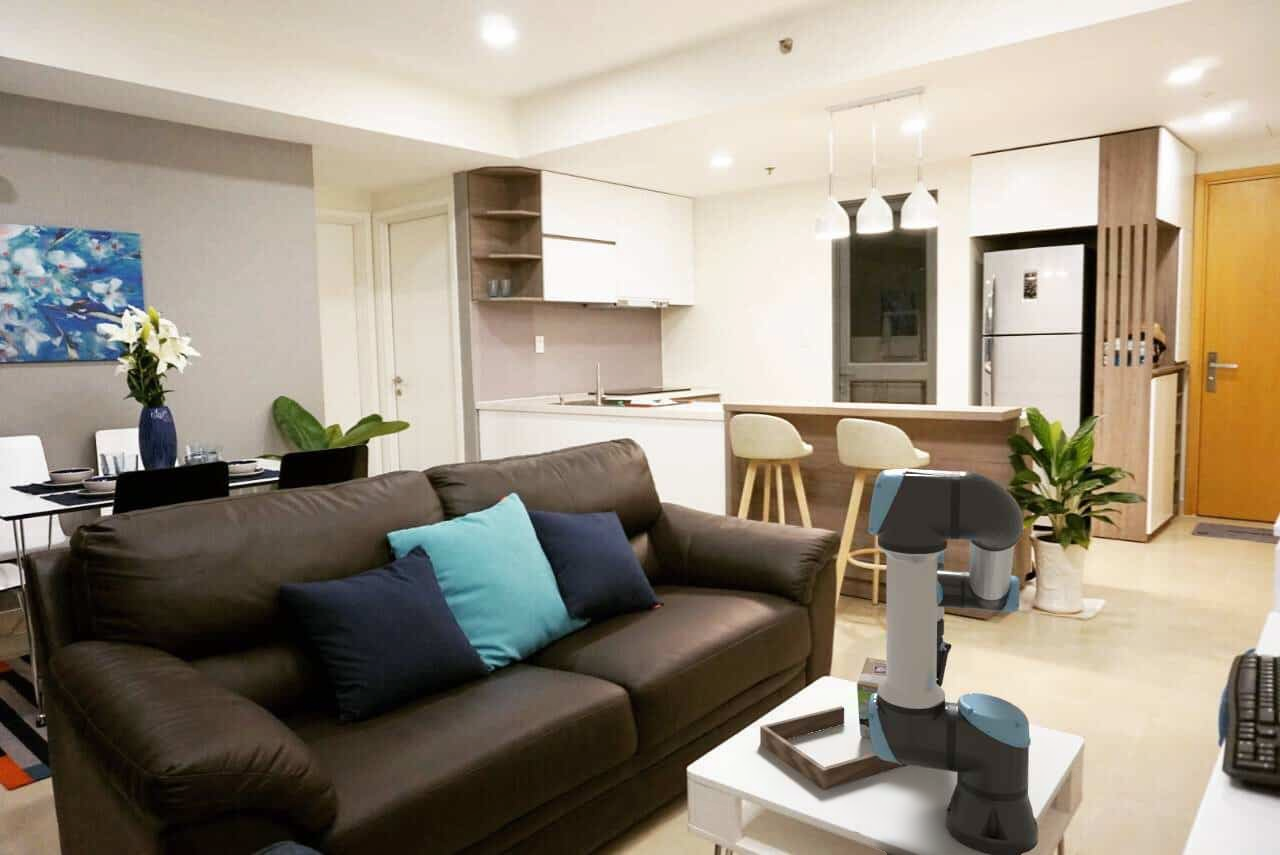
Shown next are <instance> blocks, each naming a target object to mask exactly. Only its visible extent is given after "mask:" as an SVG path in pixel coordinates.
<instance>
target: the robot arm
mask: <svg viewBox="0 0 1280 855" xmlns="http://www.w3.org/2000/svg"><path fill="white" fill-rule="evenodd" d="M1013 496H1014V495H1012V494H1011V493H1010V492H1009V490H1007V489H1006V488H1005V487H1004V486H1003V485H1001V484H1000V483H998V482H997V481H995V480H993V479H992V478H990V477H988V476H986V475H984V474H981V473H978V472H973V471H970V470H969V471H968V470H967V471H966V470H960V471H958V470H957V471H956V470H940V469H939V470H938V469H935V470H934V469H933V470H932V469H915V468H912V469H911V468H910V469H909V468H905V467H904V468H900V469H897V468H896V469H894V468H893V469H885V470H881V472H879V474H878V475H877V477H876V480H875V481H874V488H873V491H872V497H871V503H870V510H869V517H868V530H867V531H868V534H870V535H872V536H874V537H875V536H877V546H878V548H879V549H880V550H881V551H882V552H883V553H885V554H884V555H886V602H885V603H886V610H885V613H886V620H885V622H886V623H885V625H886V627H885V629H886V630H885V631H886V637H885V639H886V640H885V641H886V642H885V643H886V644H885V646H886V652H885V654H886V655H885V657H886V660H885V661H886V679H885V680H884V681H883V682H881V683H880V684H879V686H878V693H877V692H876V693H873V694H872V695H871V696H870V701H869V726H870V735H871V738H870V740H871V744H872V749H873V751H874V753H876V755H877V756H878V757H879V758H880V759H882V760H885V761H890V762H895V763H898V764H900V765H903V764H907V766H914V767H920V768H926V769H927V768H928V769H935V770H942V771H946V772H954V773H956V784H955V787H954V789H953V792H952V794H951V798H950V800H949V802H948V805H947V807H946V811H945V826H946V829H947V831H948V832H949V834H950V835H951V836H952V837H953V838H954V839H955V840H958V841H959V842H960V843H962V844H963V845H965V846H967V847H969V848H972V849H974V850H977V851H979V852H980V851H981V852H983V853H987V854H992V855H1022V854H1025V853H1028V852H1030V851H1032V850H1034V849H1035V848H1036V846H1037V845H1038V842H1039V825H1038V822H1037V819H1036V818H1035V816H1034V811H1033V807H1032V804H1031V800H1030V796H1029V767H1030V766H1029V758H1030V757H1029V755H1030V753H1029V752H1030V750H1029V748H1030V746H1031V742H1032V741H1031V737H1030V723H1029V720H1028V717H1027V715H1026V713H1024V711H1023V710H1022V709H1021V708H1020V707H1019V706H1017V705H1014V704H1013V703H1012V702H1010V701H1008V700H1006V699H1002V698H1000V697H998V696H995V695H994V696H993V695H989V694H986V693H977V692H973V693H965V694H962V695H961V696H960V697H959V698H958V700H957V702H950V701H949V702H948V701H946V693H945V690H944V689H943V688H942V685H943V682H944V679H945V678H944V676H945V672H946V666H947V662H948V655H949V653H950V651H951V648H952V644H951V643H949V642H946V641H944V637H943V636H944V634H945V619H944V617H945V608H951V609H952V608H953V609H964V610H965V609H966V610H974V611H975V610H976V611H985V612H996V613H1016V612H1018V610H1019V609H1020V598H1021V595H1020V591H1021V590H1020V589H1021V588H1020V585H1021V584H1020V578H1019V577H1018V576H1016V575H1012V570H1013V561H1014V553H1015V546H1016V545H1017V543H1018V542H1019V541H1020V539H1021V537H1022V535H1023V531H1024V530H1023V529H1024V516H1023V512H1022V510H1021V507H1020V506H1019V503H1018V502H1017V500H1016V499H1015V498H1014V497H1013ZM948 540H958V541H959V540H964V541H969V567H968V568H969V571H957V570H956V571H955V570H945V566H946V562H945V553H944V552H946V551H947V549H948Z"/></svg>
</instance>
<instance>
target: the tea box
mask: <svg viewBox="0 0 1280 855" xmlns="http://www.w3.org/2000/svg"><path fill="white" fill-rule="evenodd" d="M859 675H860V676H859V678H858V680H857V683H856V688H857V689H856V690H857V691H856V692H857V705H858V706H857V707H858V722H859V723H858V724H859V733H860V737H861V738H862V737H863V738H868V739H871V735H870V726H869V701H870V696H871V695H872V694H873V693H876V692H877V693H878V686H879V684H880V683H881V682H883V681H884V680H885V679H886V660H884V659H878V658H872V657H866V658H865V661H864V665H863V667H862V670H861V672H860V674H859Z"/></svg>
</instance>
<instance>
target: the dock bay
mask: <svg viewBox="0 0 1280 855" xmlns="http://www.w3.org/2000/svg"><path fill="white" fill-rule="evenodd" d="M842 724H844V725H845V707H844V706H842V705H841V706H835V707H832V708H828V709H825V710H820V711H816V712H813V713H812V712H811V713H808V714H804V715H800V716H797V717H796V716H795V717H791V718H788V719H785V720H780V721H775V722H772V723H767V724H765V725H764V724H763V725H761V726H759V728H760V729H759V730H760V731H759V732H760V733H759V737H760V739H759V740H760V742H759V743H760V745H762V747H764V748H765V749H766V750H768V751H769V752H770V753H772V754H774V755H775V756H776V757H778V758H779V759H780V760H782V761H783V762H785V763H786V764H787V765H789V766H790V767H791V768H792V769H794V770H795V771H796V772H798V773H800V775H802V776H803V777H805V778H806V779H808V781H810V782H811V783H813V784H814V785H816V787H819V788H820V789H821V790H822V791H825V790H828V789H832V788H836V787H840V786H842V785H845V784H849V783H853V782H856V781H860V780H862V778H863V779H866V778H870V777H872V776H876V775H878V774H879V775H881V774H882V773H886V772H889V771H892V770H896V769H899V768H903V767H906V766H908V765H907V764H903V765H900V764H898V763H895V762H890V761H885V760H882V759H880V758H879V757H878V756H877V755H876V753H875V752H873V753H869V754H865V755H862V756H859V757H856V758H852V759H848V760H845V761H841V762H837V763H833V764H831V765H828V766H823V765H822V764H821V763H819V762H818V761H816V760H815V759H814V758H812V757H810V756H809V755H808V754H806V753H805V752H803V751H802V750H801V749H799V748H797V747H796V746H794V745H793V744H792V743H791V742H790V741H788V740H790V739H789V738H791V739H794V738H793V737H795V738H797V736H799V737H802V736H801V735H803V736H806V735H805V734H807V735H809V734H808V733H810V734H812V733H811V732H814V733H817V732H816V731H818V732H820V731H819V730H822V731H824V730H823V729H826V730H828V729H827V728H830V727H834V728H836V727H835V726H837V727H839V726H838V725H841V726H843V725H842ZM830 729H831V728H830ZM786 739H787V740H786ZM852 781H853V782H852Z"/></svg>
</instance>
